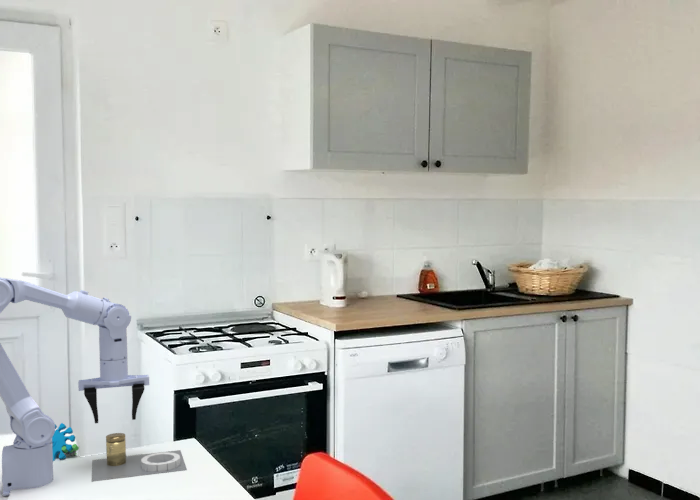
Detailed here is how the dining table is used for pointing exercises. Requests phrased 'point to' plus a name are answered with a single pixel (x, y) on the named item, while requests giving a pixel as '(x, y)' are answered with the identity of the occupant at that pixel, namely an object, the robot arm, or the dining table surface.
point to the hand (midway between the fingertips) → (115, 420)
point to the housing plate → (139, 466)
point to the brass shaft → (116, 449)
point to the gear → (63, 442)
